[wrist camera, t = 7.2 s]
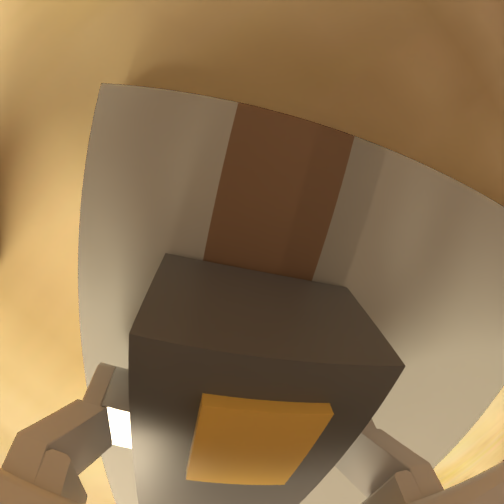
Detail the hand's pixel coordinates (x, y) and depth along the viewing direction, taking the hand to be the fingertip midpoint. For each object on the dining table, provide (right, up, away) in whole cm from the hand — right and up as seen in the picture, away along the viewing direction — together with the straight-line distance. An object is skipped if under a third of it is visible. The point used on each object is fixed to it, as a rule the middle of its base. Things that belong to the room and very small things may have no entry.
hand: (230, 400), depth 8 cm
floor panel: (+4, -5, +5) cm, 8 cm away
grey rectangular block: (0, 0, +1) cm, 1 cm away
